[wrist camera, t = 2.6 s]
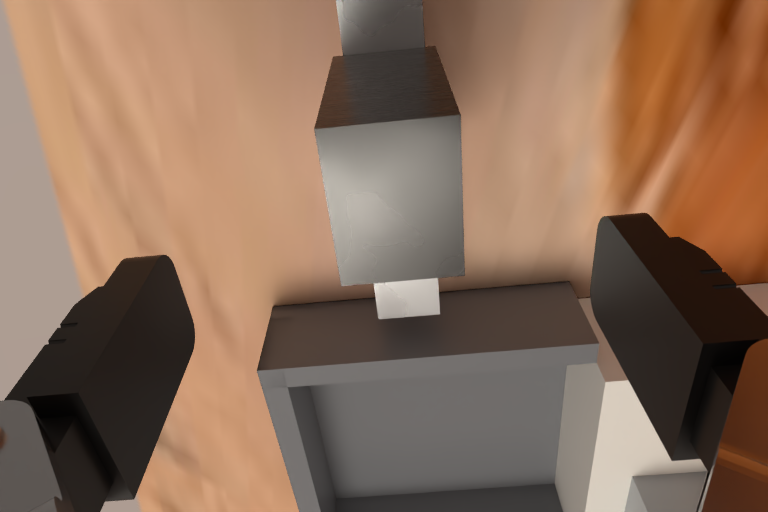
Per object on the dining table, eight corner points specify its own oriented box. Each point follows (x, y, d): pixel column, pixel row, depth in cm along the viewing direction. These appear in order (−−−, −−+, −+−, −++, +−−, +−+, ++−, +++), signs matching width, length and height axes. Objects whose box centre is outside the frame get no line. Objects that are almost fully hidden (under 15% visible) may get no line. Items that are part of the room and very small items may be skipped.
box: (272, 306, 25) (256, 370, 22) (568, 281, 25) (599, 343, 21) (322, 498, 33) (316, 567, 29) (549, 482, 32) (570, 551, 29)
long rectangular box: (567, 299, 25) (605, 382, 21) (942, 268, 24) (1060, 347, 20) (550, 470, 32) (577, 560, 27) (847, 450, 31) (921, 538, 27)
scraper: (308, -189, 16) (247, -259, 8) (415, -203, 16) (449, -285, 8) (371, 276, 25) (369, 447, 17) (440, 269, 24) (468, 440, 17)
